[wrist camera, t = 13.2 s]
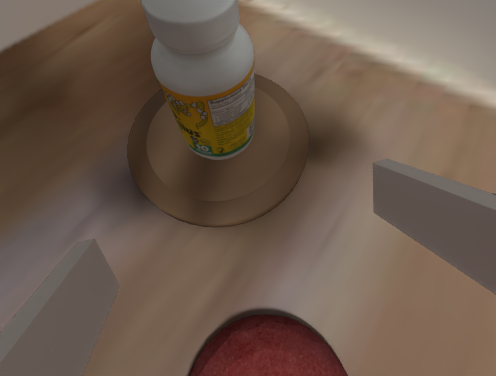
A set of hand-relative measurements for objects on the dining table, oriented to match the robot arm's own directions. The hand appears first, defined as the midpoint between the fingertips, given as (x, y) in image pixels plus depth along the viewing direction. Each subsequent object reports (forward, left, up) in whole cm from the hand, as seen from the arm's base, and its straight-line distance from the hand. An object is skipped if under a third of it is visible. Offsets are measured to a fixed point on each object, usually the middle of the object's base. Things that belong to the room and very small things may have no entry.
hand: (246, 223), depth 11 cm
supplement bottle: (-2, +8, -5) cm, 10 cm away
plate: (-2, +8, -6) cm, 10 cm away
